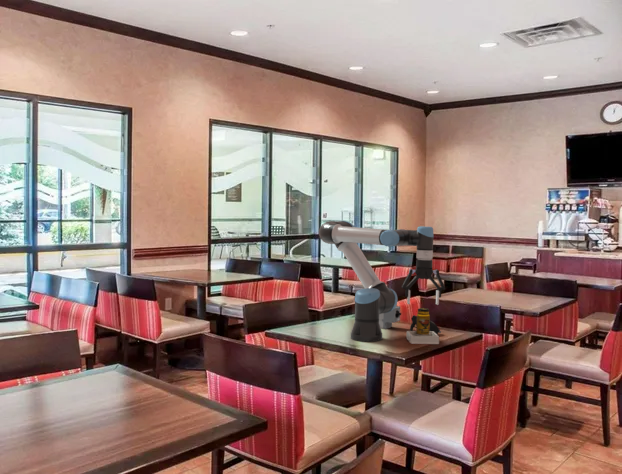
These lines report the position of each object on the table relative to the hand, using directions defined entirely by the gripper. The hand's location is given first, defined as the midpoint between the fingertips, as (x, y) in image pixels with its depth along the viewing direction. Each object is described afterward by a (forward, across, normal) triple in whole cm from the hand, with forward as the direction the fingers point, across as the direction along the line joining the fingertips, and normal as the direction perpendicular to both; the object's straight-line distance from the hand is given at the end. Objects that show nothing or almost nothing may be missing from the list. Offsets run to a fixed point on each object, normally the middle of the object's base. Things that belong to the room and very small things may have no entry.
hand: (422, 304), depth 277 cm
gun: (+18, +5, +17) cm, 25 cm away
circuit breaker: (+18, -12, +32) cm, 38 cm away
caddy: (+18, 0, 0) cm, 18 cm away
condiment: (+14, 0, 0) cm, 14 cm away
